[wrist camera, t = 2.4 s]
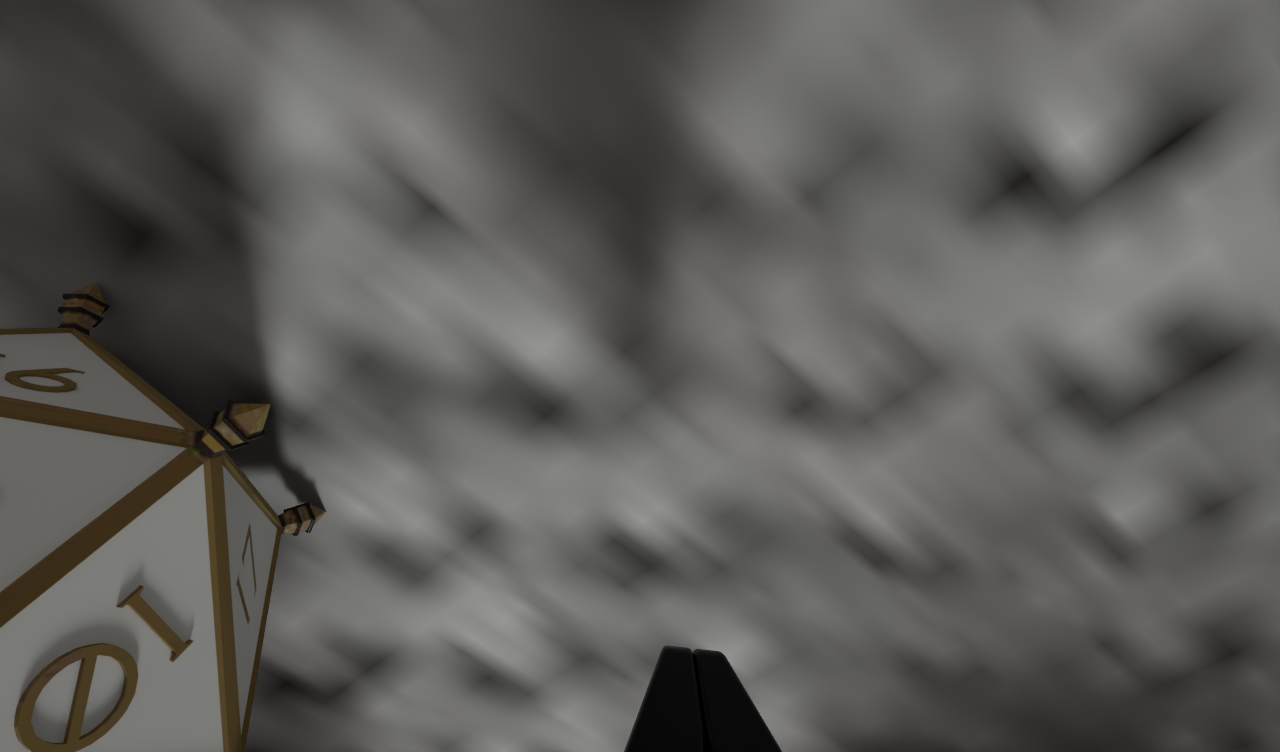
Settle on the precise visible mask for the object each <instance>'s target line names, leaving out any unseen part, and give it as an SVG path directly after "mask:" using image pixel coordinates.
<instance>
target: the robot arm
mask: <svg viewBox="0 0 1280 752" xmlns="http://www.w3.org/2000/svg"><path fill="white" fill-rule="evenodd" d="M624 752H782V751H781V749H780V747H779V746H778V744H777V742H776V741H775V739H774V737H773V736H772V734H771V732H770V731H769V729H768V727H767V726H766V724H765V722H764V720H763V719H762V717H761V715H760V714H759V712H758V710H757V709H756V707H755V705H754V704H753V702H752V700H751V699H750V697H749V695H748V694H747V692H746V690H745V689H744V687H743V685H742V683H741V682H740V680H739V678H738V677H737V675H736V673H735V672H734V670H733V668H732V667H731V665H730V663H729V662H728V660H727V658H726V657H725V655H724V654H722V653H721V652H719V651H711V650H702V649H696V650H694V651H693V653H692V651H691V650H690V649H689V648H684V647H675V646H665V647H663V649H662V651H661V653H660V656H659V659H658V661H657V664H656V667H655V669H654V672H653V675H652V678H651V680H650V683H649V686H648V688H647V691H646V694H645V696H644V699H643V702H642V705H641V707H640V710H639V713H638V715H637V718H636V721H635V724H634V726H633V729H632V732H631V734H630V737H629V740H628V742H627V745H626V748H625V751H624Z"/></svg>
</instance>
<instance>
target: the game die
mask: <svg viewBox="0 0 1280 752" xmlns="http://www.w3.org/2000/svg"><path fill="white" fill-rule="evenodd" d="M63 298H64V299H65V300H66V302H65V304H64V307H59V308H58V312H59V313H60V314H61V315H62V324H61V325H60V326H59V327H58V328H21V329H0V752H244V751H245V745H246V739H247V733H248V727H249V721H250V715H251V709H252V703H253V697H254V691H255V685H256V679H257V673H258V667H259V661H260V656H261V650H262V644H263V638H264V632H265V626H266V620H267V614H268V608H269V602H270V596H271V590H272V584H273V578H274V572H275V566H276V560H277V554H278V549H279V543H280V537H281V534H283V533H291V534H293V535H294V536H297V535H298V534H299V532H302V531H305V532H307V533H310V532H311V530H312V527H313V525H314V524H315V523H316V522H317V521H318V520H319V519H320V518H321V516H322V515H323V514H324V513H325V512H326V511H324V510H321V509H318V508H315V507H313V506H310V504H309V502H308V503H304V504H301V505H298V506H295V507H292V508H288V509H285V510H284V513H282V514H280V515H279V516H277V514H276V513H275V512H274V511H273V509H272V508H271V507H270V506H269V504H268V503H267V502H266V501H265V499H264V498H263V497H262V496H261V494H260V493H259V492H258V491H257V489H256V488H255V487H254V486H253V484H252V483H251V482H250V481H249V479H248V478H247V477H246V476H245V475H244V473H243V472H242V471H241V470H240V468H239V467H238V466H237V465H236V463H235V462H234V461H233V460H232V458H231V457H230V456H229V455H228V453H227V452H229V451H232V450H235V449H239V448H242V447H245V446H247V445H249V442H248V441H251V440H254V439H257V438H260V437H263V436H264V435H265V432H264V430H263V427H264V424H265V421H266V418H267V415H268V411H269V408H270V405H271V404H239V403H237V402H235V401H233V400H229V401H228V402H227V405H226V408H225V410H223V411H222V412H221V413H220V412H217V411H215V412H214V413H212V415H211V418H210V421H209V424H208V426H207V428H206V429H204V428H203V427H201V426H200V425H199V424H198V423H196V422H195V421H194V420H193V419H191V418H190V417H189V416H188V415H187V414H185V413H184V412H183V411H182V410H180V409H179V408H178V407H177V406H175V405H174V404H173V403H172V402H170V401H169V400H168V399H167V398H166V397H164V396H163V395H162V394H161V393H159V392H158V391H157V390H156V389H154V388H153V387H152V386H151V385H149V384H148V383H147V382H146V381H145V380H143V379H142V378H141V377H140V376H138V375H137V374H136V373H135V372H133V371H132V370H131V369H130V368H128V367H127V366H126V365H125V364H123V363H122V362H121V361H120V360H119V359H117V358H116V357H115V356H114V355H112V354H111V353H110V352H109V351H107V350H106V349H105V348H104V347H102V346H101V345H100V344H99V343H98V342H96V341H95V340H94V339H93V338H91V337H90V336H89V330H90V329H91V328H92V327H94V328H95V327H96V326H97V325H98V324H99V323H100V322H101V321H102V320H103V317H100V316H101V315H102V314H103V313H104V312H105V311H106V310H107V309H109V307H110V305H108V304H106V303H105V301H104V299H103V296H102V294H101V291H100V289H99V287H98V284H97V282H96V283H94V284H92V285H90V286H88V287H85V288H83V289H81V290H79V291H77V292H75V293H72V294H63ZM225 450H226V451H227V452H226V451H225Z"/></svg>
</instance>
